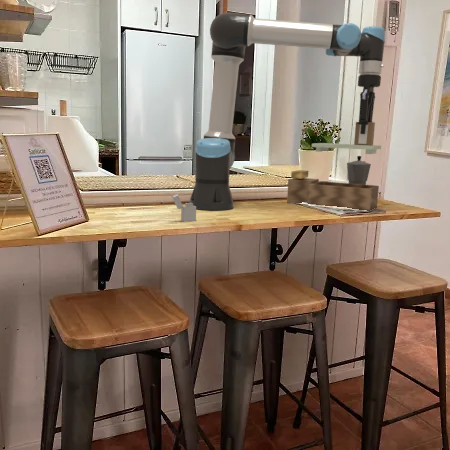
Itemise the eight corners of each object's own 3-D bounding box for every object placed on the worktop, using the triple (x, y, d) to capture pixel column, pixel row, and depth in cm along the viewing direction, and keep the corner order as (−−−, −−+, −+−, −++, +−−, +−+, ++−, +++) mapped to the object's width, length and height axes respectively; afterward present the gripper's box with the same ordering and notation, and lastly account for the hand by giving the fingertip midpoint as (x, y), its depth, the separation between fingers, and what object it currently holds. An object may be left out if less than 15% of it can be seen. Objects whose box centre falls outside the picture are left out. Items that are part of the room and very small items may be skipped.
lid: (311, 151, 181) (313, 120, 179) (322, 150, 193) (324, 121, 191) (372, 154, 172) (375, 121, 170) (380, 153, 184) (382, 123, 182)
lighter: (193, 219, 151) (194, 193, 150) (196, 220, 150) (196, 193, 148) (171, 221, 148) (171, 193, 146) (173, 222, 146) (173, 194, 145)
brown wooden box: (284, 203, 189) (285, 179, 187) (297, 199, 201) (298, 177, 200) (369, 212, 175) (371, 186, 174) (376, 207, 188) (379, 183, 186)
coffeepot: (362, 204, 193) (366, 157, 190) (338, 202, 198) (342, 155, 195) (373, 200, 206) (377, 155, 203) (350, 198, 211) (354, 154, 208)
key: (291, 177, 189) (291, 171, 189) (298, 176, 196) (298, 170, 196) (301, 178, 188) (301, 172, 187) (308, 177, 195) (308, 170, 194)
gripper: (376, 72, 166) (369, 144, 171) (385, 77, 180) (378, 144, 185) (353, 72, 169) (347, 143, 174) (363, 77, 184) (357, 142, 188)
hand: (363, 143), depth 179 cm, fingers closed on lid, 3 cm apart
